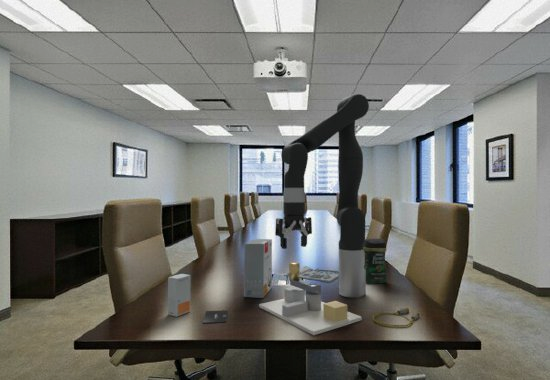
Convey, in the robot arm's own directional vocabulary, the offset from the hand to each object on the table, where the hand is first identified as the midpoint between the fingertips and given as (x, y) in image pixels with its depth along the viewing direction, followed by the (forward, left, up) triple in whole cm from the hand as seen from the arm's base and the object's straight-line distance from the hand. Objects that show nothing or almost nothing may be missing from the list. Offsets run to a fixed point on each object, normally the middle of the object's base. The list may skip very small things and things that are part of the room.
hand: (294, 247), depth 118 cm
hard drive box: (+3, -19, -20) cm, 28 cm away
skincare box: (+36, -14, -20) cm, 43 cm away
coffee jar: (-46, -3, -20) cm, 50 cm away
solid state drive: (+28, -4, -20) cm, 35 cm away
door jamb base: (+2, +10, -19) cm, 22 cm away
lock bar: (0, +5, -13) cm, 14 cm away
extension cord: (-16, +30, -20) cm, 40 cm away
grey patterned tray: (-34, -28, -20) cm, 48 cm away
